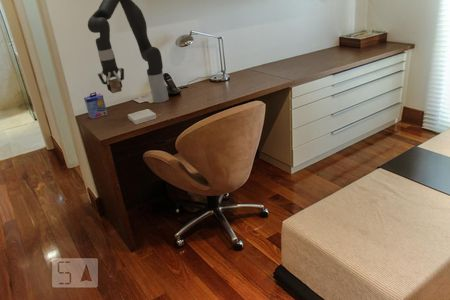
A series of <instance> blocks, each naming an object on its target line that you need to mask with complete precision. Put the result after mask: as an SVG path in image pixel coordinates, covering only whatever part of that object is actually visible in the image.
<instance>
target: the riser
mask: <svg viewBox="0 0 450 300" xmlns="http://www.w3.org/2000/svg"><path fill="white" fill-rule="evenodd" d="M127 117H128V120H129V121H131V122H132V123H133V124H134V125H139V124H141V123H145V122H149V121H152V120H155V119H157V114H156V113H155V112H154V111H152V110H150V109H149V108H147V109H143V110H139V111H136V112H132V113H129V114H127Z"/></svg>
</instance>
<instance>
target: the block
mask: <svg viewBox="0 0 450 300" xmlns="http://www.w3.org/2000/svg"><path fill="white" fill-rule="evenodd" d="M109 84H110V87H111V91H109V92H110V93H112V94H116V93H121V92H122V88H121V86H120V82H119V80H118V79H116V78H113V79H112V78H111V79H110V81H109Z"/></svg>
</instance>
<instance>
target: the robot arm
mask: <svg viewBox="0 0 450 300" xmlns="http://www.w3.org/2000/svg"><path fill="white" fill-rule="evenodd" d="M119 4H120V5H121V7H122V10H123V12H124V15H125V18H126V19H127V22H128V24H129V27H130V28H131V29H130V30H131V31H132V34H133V36H134V38H135V40H136V43H137V46H138V49H139V53H140V55H141V58H142V59H143V61H145V62H147V65H148V67H147V68H148V69H146V75H147V79H148V84H149V89H150V94H151V97H152V102H153V103H155V104H156V103H157V104H159V103H164V102H166V101H169V100H170V98H169V93H168V88H167V84H166V83H165V77H164V73H163V68H164V66H163V58H162V53H161V51H160V49H159V48H157V47H156V46H152V44H151V42H150V40H149V37H148V30H147V29H148V26H147V22H146V19H145V16H144V14H143V12H142V10H141V8H140V7H139V6H138V5H137V4H136V3H135V2H134V1H133V0H102V1H101V3H100V5H99V6H98V9H97V10H96V11H95V12H94V13H93V14H92V15H91V16H90V17H89V19H88V22H87V27H88V31H90V33H94V34H96V33H97V34H98V33H99V37H98V38H96V39H95V44H96V48H97V54H98V57H99V61H100V64H101V65H100V66H101V68H102V71H101V72H100V73H99V72H98V73H97V76H98V78H99V80H100V81H101V83H102V85H105V86H106V87H107V90H108V91H109V92H110V91H111V87H110V84H109V81H110V80H111V79H112V78H115V79H118V80H119V82H120V86H121V89H123V83H122V81H123V80H125V68H122V67H120V68H119V67H118V65H117V62H116V61H117V60H116V57H115V56H116V55H115V53H114V50H113V48H112V47H113V46H112V44H111V40H110V39H111V34H110V32H111V29H110V28H111V27H110V22H109V21H108V20H110V19H111V18H112V16H113V15H114V12H115V10H116V9H117V6H118V5H119ZM119 73H120V76H119V75H118V74H119ZM104 76H105V79H104V78H103V77H104Z"/></svg>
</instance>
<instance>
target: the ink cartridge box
mask: <svg viewBox="0 0 450 300" xmlns="http://www.w3.org/2000/svg"><path fill="white" fill-rule="evenodd" d="M83 100H84V102H85V106H86V109H87V112H88V113H87V114H88V115H89V118H90V119H92V120H93V119H97V118H101V117H104V116H107V115H108V110H107V107H106V103H105V99H104V95H103V94H101V93H97V92H96V91H95V92H92V93H89V95H88V96H86V97H83Z"/></svg>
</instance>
